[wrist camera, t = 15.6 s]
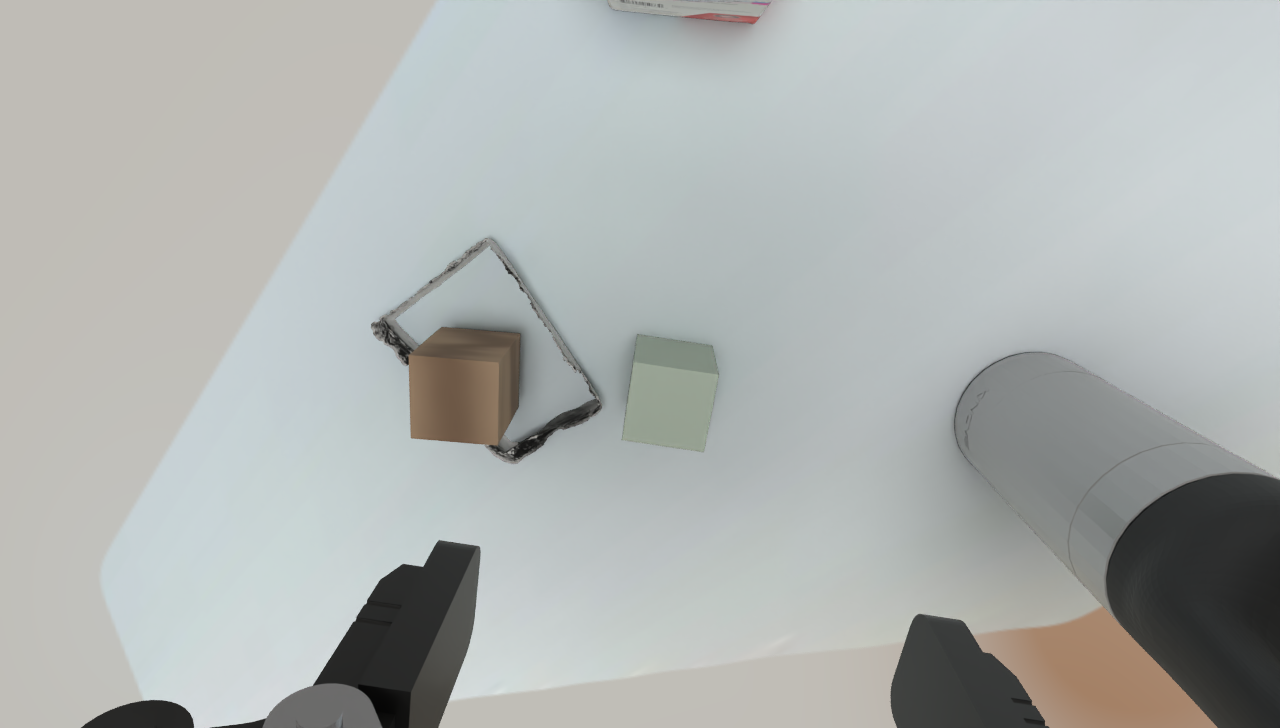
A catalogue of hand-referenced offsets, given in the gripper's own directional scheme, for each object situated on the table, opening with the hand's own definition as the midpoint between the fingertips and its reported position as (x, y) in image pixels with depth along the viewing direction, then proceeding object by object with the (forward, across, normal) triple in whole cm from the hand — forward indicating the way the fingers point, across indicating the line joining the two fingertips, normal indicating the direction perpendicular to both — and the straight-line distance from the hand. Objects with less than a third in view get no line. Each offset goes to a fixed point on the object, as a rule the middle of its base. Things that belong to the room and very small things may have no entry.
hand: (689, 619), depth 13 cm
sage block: (+34, -1, +7) cm, 35 cm away
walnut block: (+32, +11, +8) cm, 35 cm away
